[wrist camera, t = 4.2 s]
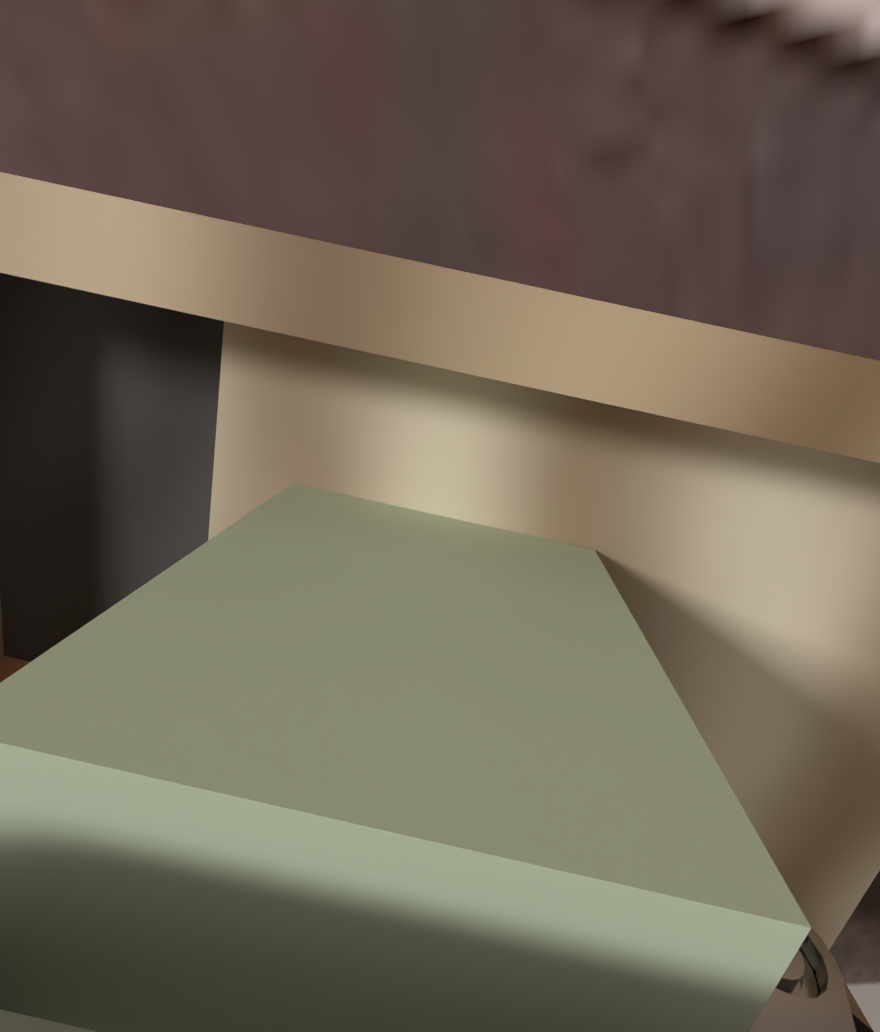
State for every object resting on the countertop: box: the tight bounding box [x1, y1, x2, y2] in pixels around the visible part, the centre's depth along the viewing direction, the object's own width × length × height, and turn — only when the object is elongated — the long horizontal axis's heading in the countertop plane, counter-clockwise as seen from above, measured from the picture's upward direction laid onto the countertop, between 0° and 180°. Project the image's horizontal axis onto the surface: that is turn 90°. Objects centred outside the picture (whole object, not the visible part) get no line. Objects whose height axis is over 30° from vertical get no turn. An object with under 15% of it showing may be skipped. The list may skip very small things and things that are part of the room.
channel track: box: [0, 172, 880, 1031], centre depth 12 cm, size 26×14×6 cm, turn 78°
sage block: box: [0, 483, 811, 1032], centre depth 8 cm, size 6×6×7 cm
